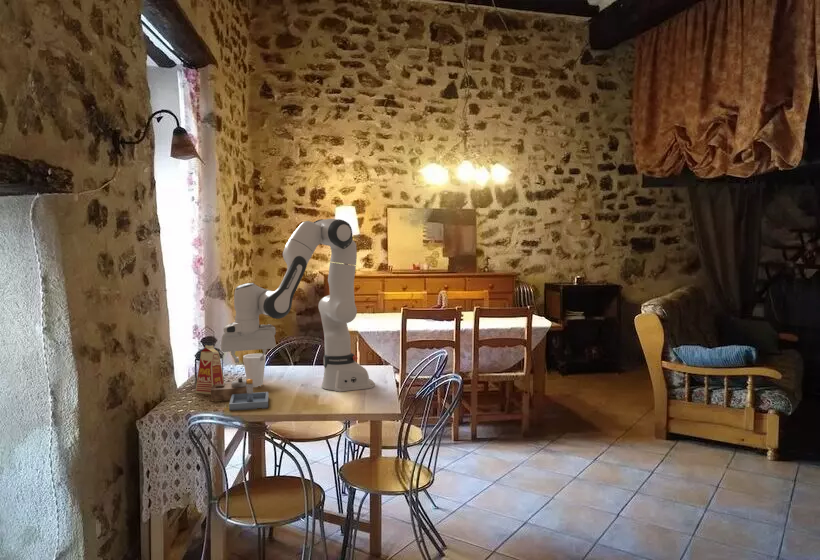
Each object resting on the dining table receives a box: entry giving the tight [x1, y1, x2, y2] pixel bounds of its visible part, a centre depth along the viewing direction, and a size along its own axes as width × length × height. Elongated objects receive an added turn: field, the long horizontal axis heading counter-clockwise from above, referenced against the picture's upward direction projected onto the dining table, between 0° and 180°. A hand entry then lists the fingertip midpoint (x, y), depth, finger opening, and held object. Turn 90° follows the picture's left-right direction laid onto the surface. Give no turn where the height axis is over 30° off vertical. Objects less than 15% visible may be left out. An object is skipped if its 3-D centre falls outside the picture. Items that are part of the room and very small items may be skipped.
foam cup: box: [242, 353, 267, 388], centre depth 259 cm, size 10×9×13 cm
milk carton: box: [194, 344, 225, 395], centre depth 250 cm, size 9×9×20 cm
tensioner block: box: [210, 377, 247, 402], centre depth 241 cm, size 14×8×8 cm, turn 102°
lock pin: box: [245, 379, 254, 402], centre depth 231 cm, size 2×2×9 cm
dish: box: [228, 391, 270, 412], centre depth 231 cm, size 14×14×2 cm
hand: (249, 361), depth 230 cm, fingers open, 8 cm apart
